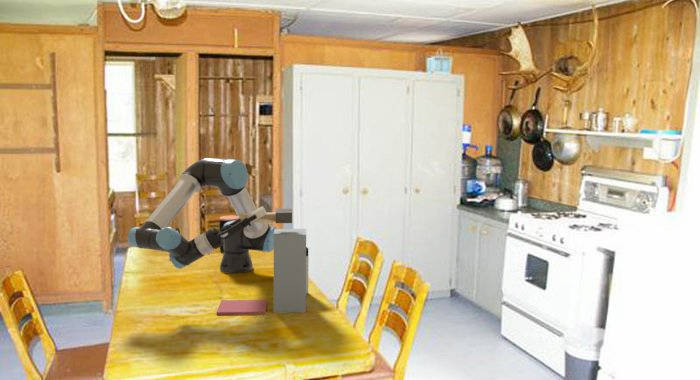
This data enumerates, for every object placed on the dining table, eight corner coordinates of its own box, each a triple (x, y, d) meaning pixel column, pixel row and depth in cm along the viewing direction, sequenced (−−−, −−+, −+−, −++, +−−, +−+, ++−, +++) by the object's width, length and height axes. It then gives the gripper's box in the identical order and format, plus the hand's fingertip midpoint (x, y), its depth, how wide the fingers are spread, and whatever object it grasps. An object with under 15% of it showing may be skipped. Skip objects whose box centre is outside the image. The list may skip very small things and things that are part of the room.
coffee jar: (216, 252, 299) (215, 218, 296) (224, 247, 309) (223, 214, 306) (236, 253, 297) (235, 219, 294) (243, 248, 308) (242, 215, 305)
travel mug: (301, 290, 242) (301, 244, 239) (311, 294, 237) (311, 247, 234) (289, 293, 238) (289, 246, 235) (299, 297, 233) (299, 249, 230)
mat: (221, 302, 225) (221, 300, 225) (267, 302, 227) (267, 299, 227) (216, 314, 213) (216, 312, 212) (265, 314, 214) (265, 311, 214)
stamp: (242, 219, 218) (241, 209, 218) (292, 218, 220) (292, 208, 220) (240, 223, 211) (239, 213, 210) (292, 223, 212) (291, 212, 212)
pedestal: (274, 303, 226) (274, 228, 221) (305, 302, 227) (305, 228, 222) (273, 312, 216) (273, 234, 211) (305, 312, 217) (306, 234, 212)
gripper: (218, 244, 223) (270, 214, 223) (211, 255, 207) (268, 223, 207) (207, 227, 222) (260, 197, 222) (200, 237, 206) (257, 205, 206)
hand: (264, 210), depth 215 cm, fingers closed on stamp, 3 cm apart
